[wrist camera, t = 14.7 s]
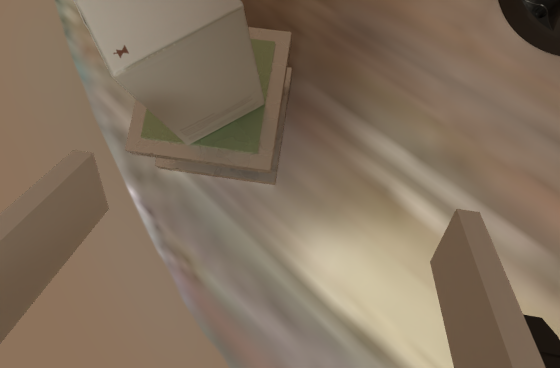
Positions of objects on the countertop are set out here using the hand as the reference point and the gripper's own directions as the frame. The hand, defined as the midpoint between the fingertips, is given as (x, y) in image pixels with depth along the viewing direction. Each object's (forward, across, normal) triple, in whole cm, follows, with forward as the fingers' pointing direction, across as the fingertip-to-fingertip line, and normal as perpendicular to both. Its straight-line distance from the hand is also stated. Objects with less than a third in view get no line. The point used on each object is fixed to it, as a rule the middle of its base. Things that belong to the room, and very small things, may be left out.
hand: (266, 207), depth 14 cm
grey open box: (+23, -8, -10) cm, 26 cm away
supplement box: (+17, -8, -4) cm, 20 cm away
